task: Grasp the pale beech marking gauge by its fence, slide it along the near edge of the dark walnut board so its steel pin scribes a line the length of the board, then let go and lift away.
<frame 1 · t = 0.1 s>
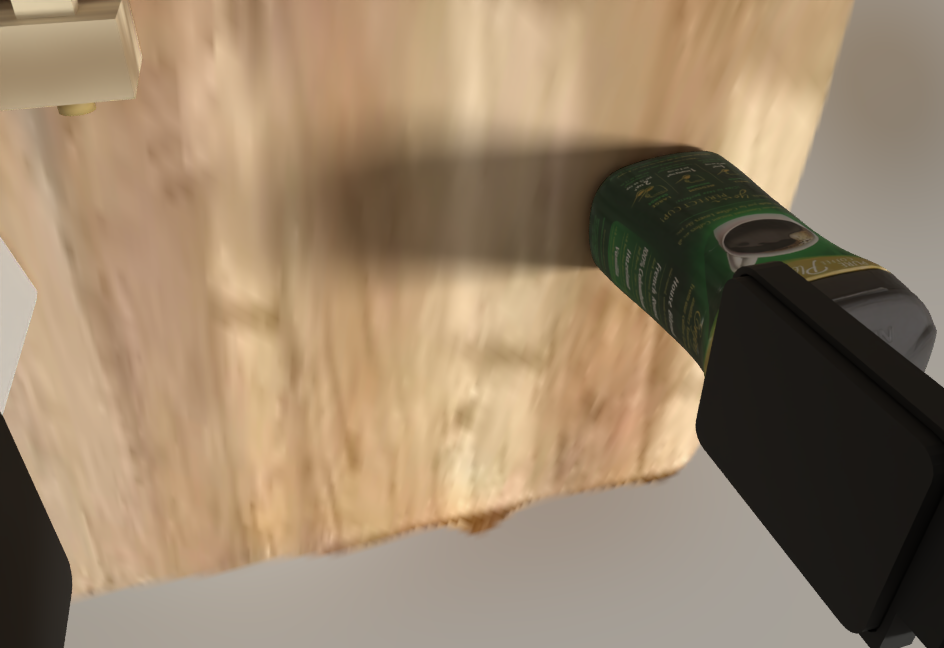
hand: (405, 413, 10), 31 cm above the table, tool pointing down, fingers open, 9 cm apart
coffee jar: (653, 208, 49), on the table
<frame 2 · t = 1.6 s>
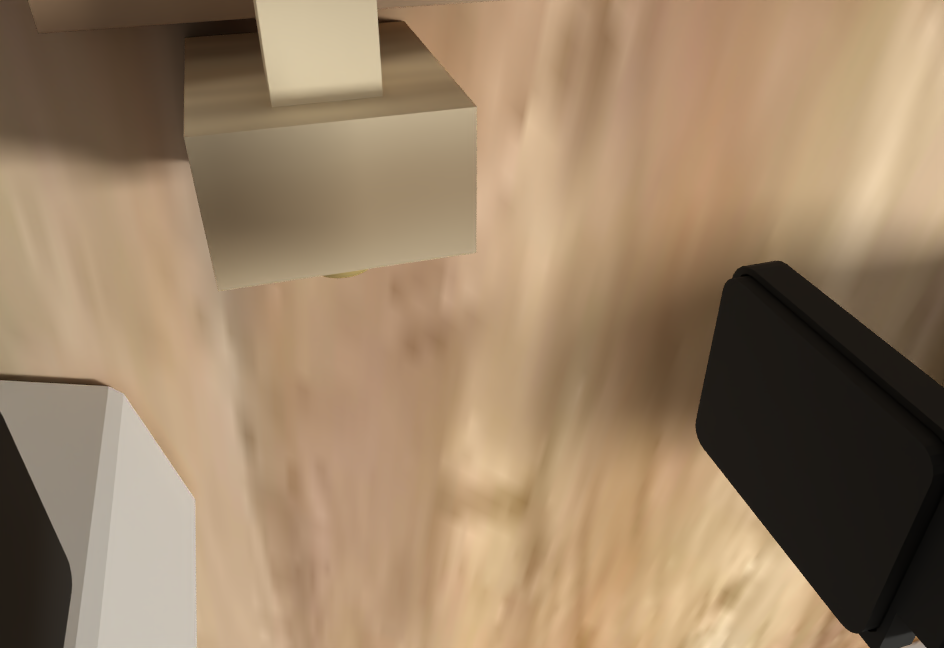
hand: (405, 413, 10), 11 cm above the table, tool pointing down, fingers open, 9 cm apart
soap bottle: (11, 491, 23), on the table
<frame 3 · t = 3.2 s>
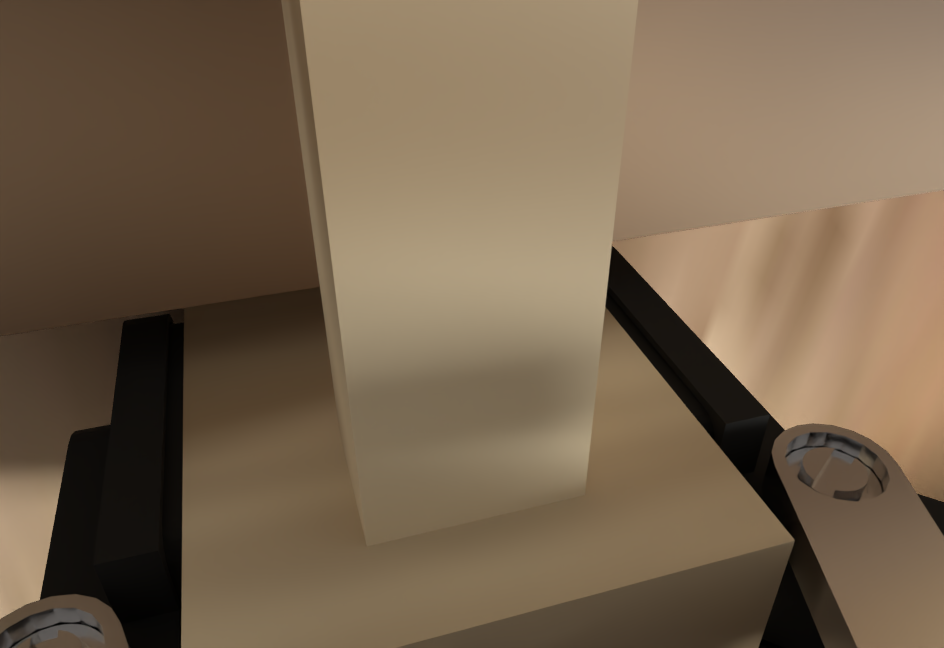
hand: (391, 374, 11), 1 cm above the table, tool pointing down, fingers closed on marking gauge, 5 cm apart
marking gauge: (413, 155, 7), point 3 cm above the table, slide at 0.0 cm, touching gripper
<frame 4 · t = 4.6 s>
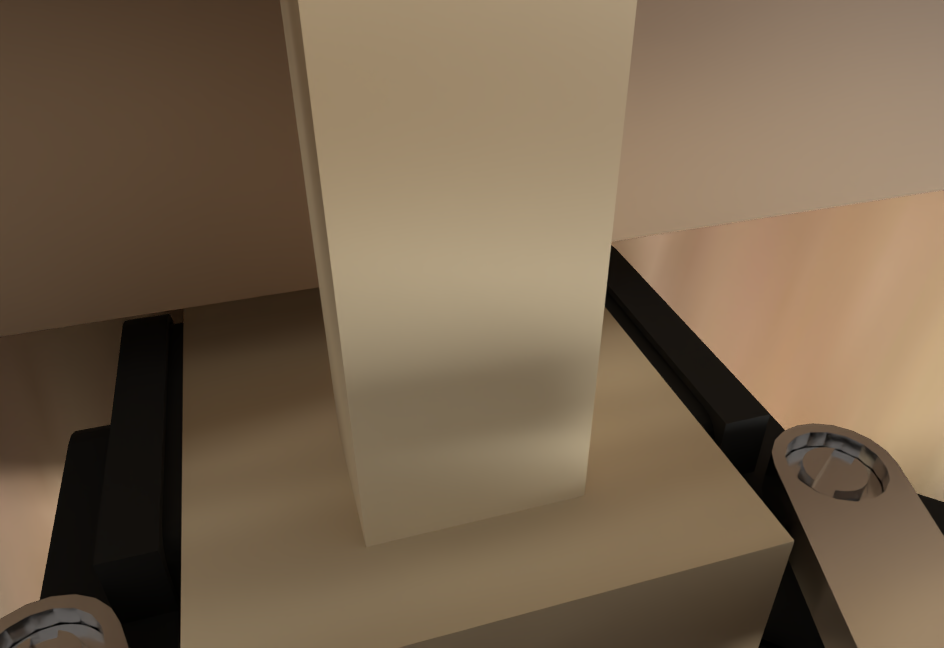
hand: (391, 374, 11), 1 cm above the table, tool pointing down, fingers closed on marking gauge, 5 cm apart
marking gauge: (412, 155, 7), point 3 cm above the table, slide at 4.0 cm, touching gripper
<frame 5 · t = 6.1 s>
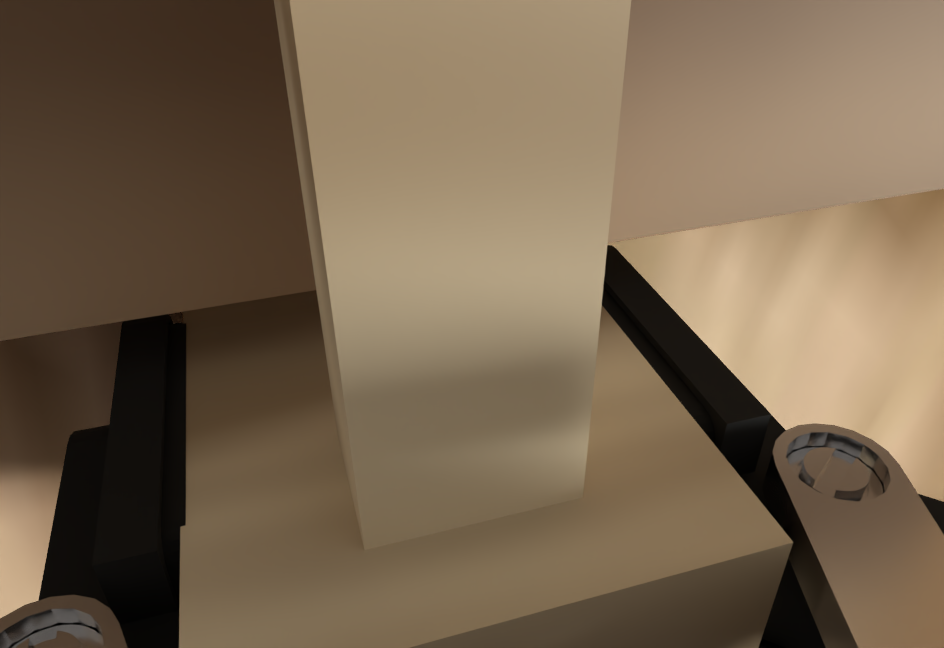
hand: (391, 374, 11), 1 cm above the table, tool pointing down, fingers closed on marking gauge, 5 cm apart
marking gauge: (409, 158, 7), point 3 cm above the table, slide at 12.4 cm, touching gripper
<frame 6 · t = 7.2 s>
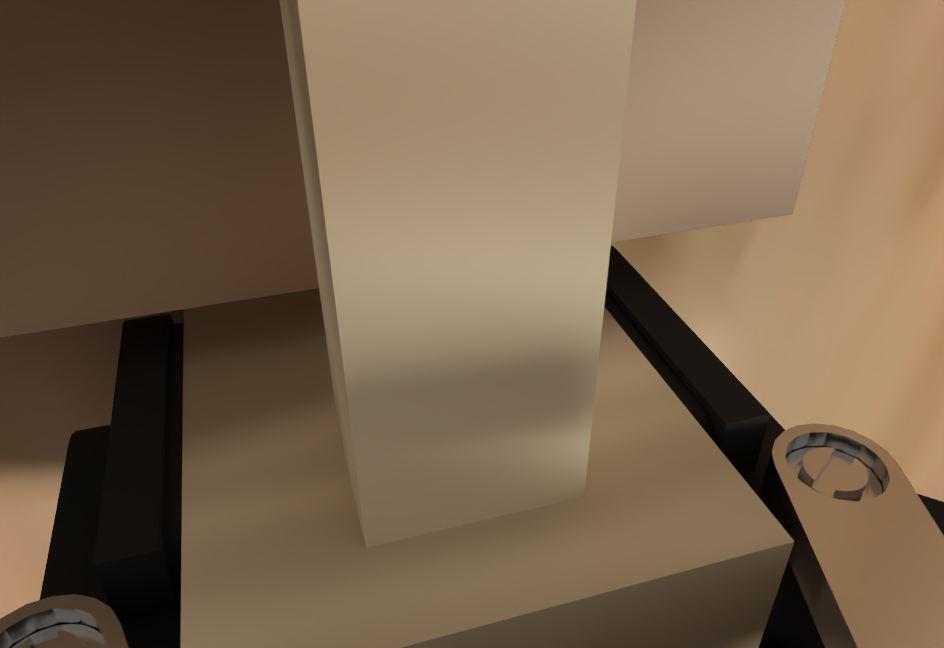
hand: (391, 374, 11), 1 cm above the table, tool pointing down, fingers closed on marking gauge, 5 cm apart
marking gauge: (412, 156, 7), point 3 cm above the table, slide at 17.9 cm, touching gripper
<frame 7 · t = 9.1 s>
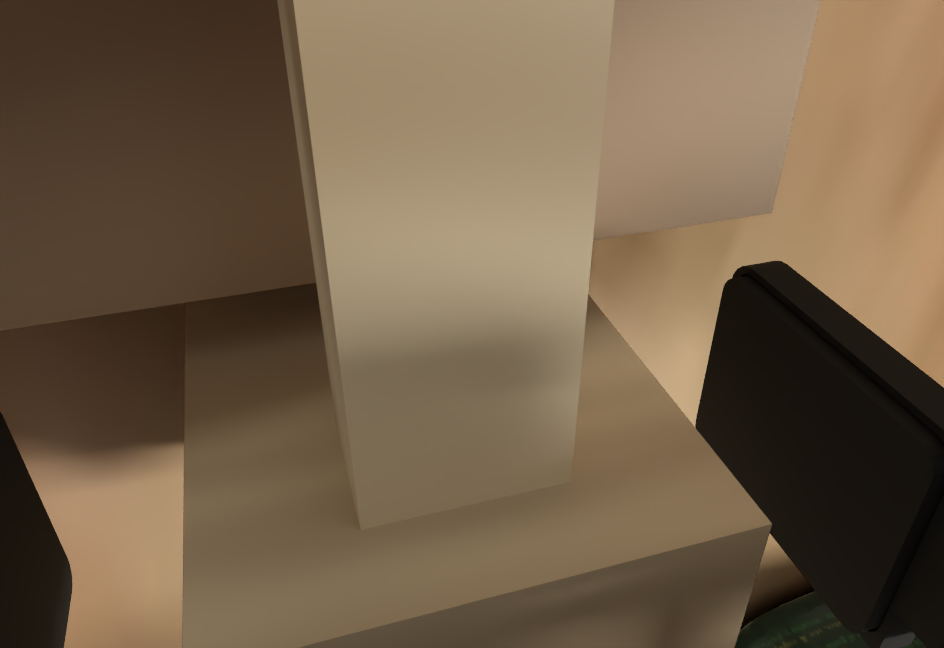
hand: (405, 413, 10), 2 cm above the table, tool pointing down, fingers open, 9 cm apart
marking gauge: (405, 154, 7), point 3 cm above the table, slide at 18.0 cm
coffee jar: (825, 637, 22), on the table
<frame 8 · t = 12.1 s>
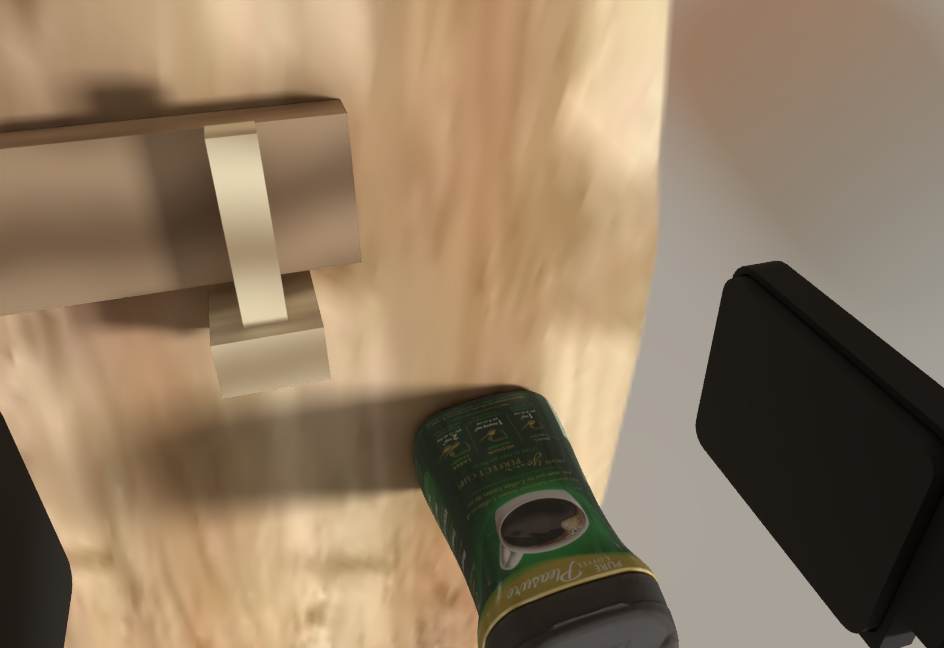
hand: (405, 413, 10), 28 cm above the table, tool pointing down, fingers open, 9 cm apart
walnut board: (38, 213, 35), on the table
marking gauge: (254, 254, 36), point 3 cm above the table, slide at 18.0 cm
coffee jar: (481, 435, 51), on the table
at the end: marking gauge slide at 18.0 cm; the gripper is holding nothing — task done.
